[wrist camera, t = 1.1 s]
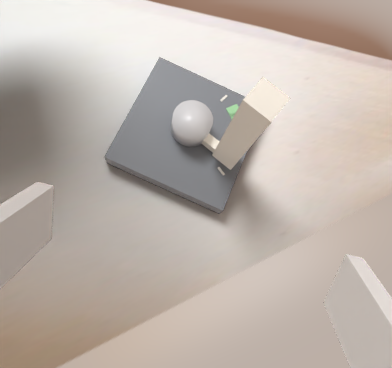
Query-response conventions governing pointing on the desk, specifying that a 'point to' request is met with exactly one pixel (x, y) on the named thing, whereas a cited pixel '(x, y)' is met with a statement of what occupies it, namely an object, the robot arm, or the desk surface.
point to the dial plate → (165, 142)
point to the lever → (238, 128)
